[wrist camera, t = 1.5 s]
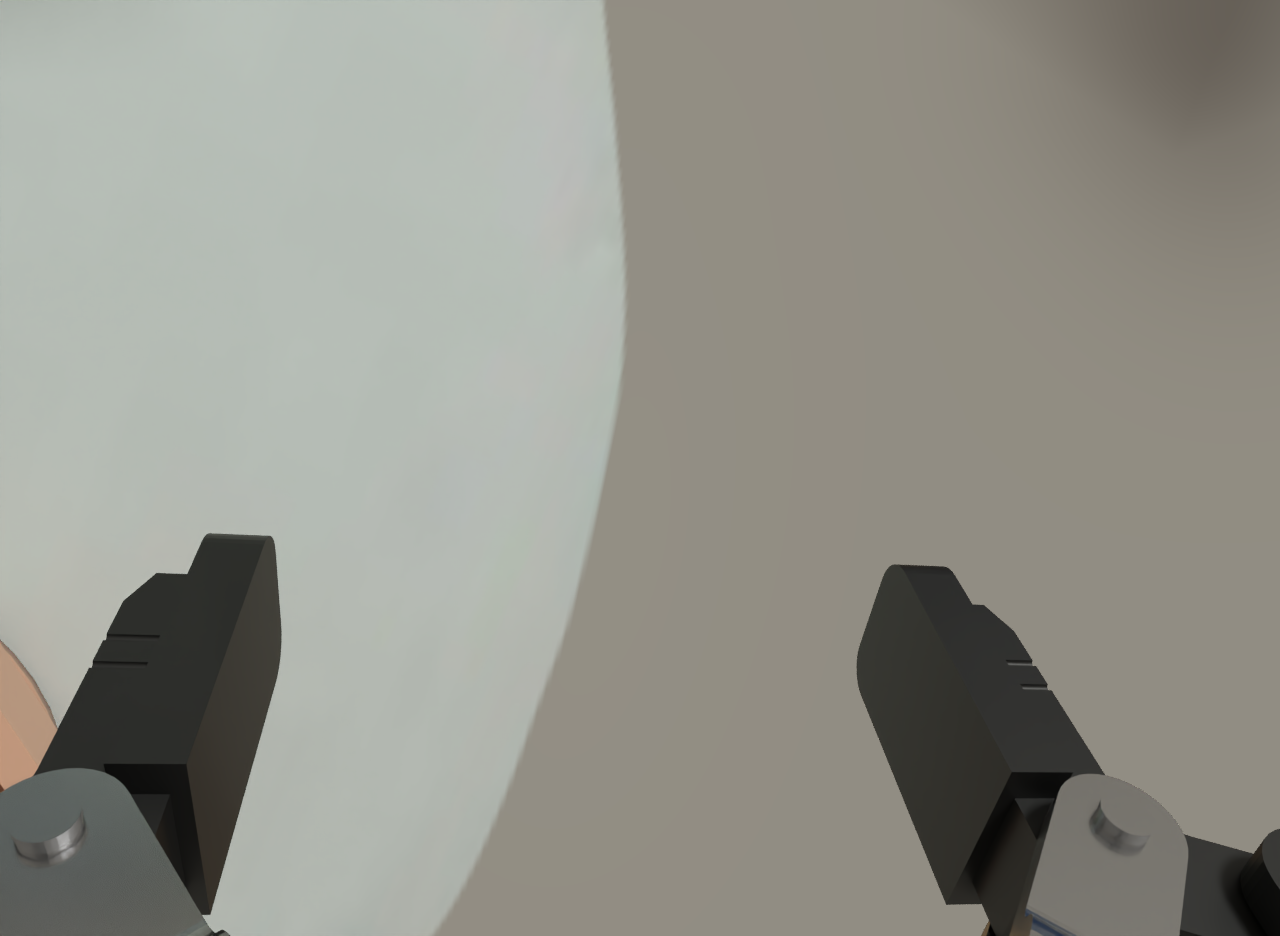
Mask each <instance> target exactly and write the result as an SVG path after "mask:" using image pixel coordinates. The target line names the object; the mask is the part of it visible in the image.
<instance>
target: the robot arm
mask: <svg viewBox="0 0 1280 936" xmlns="http://www.w3.org/2000/svg"><path fill="white" fill-rule="evenodd" d="M280 655H281V618H280V604H279V591H278V578H277V565H276V552H275V544H274V540H273V538H272V537H271V536H259V535H235V534H212V533H209V534H207V535H206V536H205V537H204V538H203V540H202V542H201V545H200V547H199V549H198V551H197V554H196V556H195V558H194V560H193V563H192V565H191V567H190V569H189V572H188V574H166V573H156V574H155V575H154V576H153V577H152V578H150V579H149V580H148V581H147V582H146V583H144V584H143V585H142V586H141V587H140V588H138V589H137V590H136V591H135V592H134V593H132V594H131V595H130V596H129V597H128V598H126V599H125V600H124V601H123V603H122V605H121V607H120V609H119V611H118V613H117V615H116V616H115V618H114V620H113V622H112V624H111V626H110V628H109V630H108V632H107V638H106V640H103V642H102V644H101V646H100V648H99V650H98V652H97V654H96V656H95V657H94V659H93V666H92V668H89V669H88V671H87V673H86V675H85V677H84V679H83V681H82V683H81V685H80V687H79V689H78V691H77V693H76V695H75V696H74V698H73V700H72V702H71V704H70V706H69V708H68V710H67V712H66V714H65V716H64V718H63V720H62V722H61V724H60V726H59V728H58V730H57V732H56V734H55V736H54V737H53V739H52V741H51V743H50V745H49V747H48V749H47V751H46V753H45V755H44V757H43V759H42V761H41V763H40V765H39V767H38V769H37V770H36V772H35V774H34V775H33V776H32V777H30V778H27V779H24V780H22V781H20V782H18V783H16V784H14V785H12V786H10V787H9V788H7V789H6V790H4V791H2V792H1V793H0V936H230V935H229V934H228V933H227V932H226V931H224V930H220V931H219V932H217V933H214V932H213V931H212V930H211V928H210V927H209V926H208V924H207V923H206V921H205V919H204V918H203V916H202V915H210V914H211V910H212V907H213V903H214V900H215V896H216V892H217V889H218V885H219V882H220V878H221V875H222V871H223V868H224V864H225V861H226V857H227V853H228V850H229V846H230V843H231V839H232V836H233V832H234V829H235V825H236V822H237V818H238V814H239V811H240V807H241V804H242V800H243V797H244V793H245V790H246V786H247V783H248V779H249V775H250V772H251V768H252V765H253V761H254V758H255V754H256V751H257V747H258V744H259V740H260V736H261V733H262V729H263V726H264V722H265V719H266V715H267V712H268V708H269V705H270V701H271V697H272V694H273V690H274V687H275V683H276V679H277V675H278V670H279V663H280ZM857 680H858V686H859V690H860V693H861V696H862V699H863V701H864V703H865V705H866V708H867V711H868V713H869V716H870V718H871V721H872V723H873V726H874V728H875V731H876V733H877V735H878V738H879V740H880V743H881V745H882V748H883V750H884V753H885V755H886V757H887V760H888V763H889V765H890V767H891V770H892V772H893V775H894V777H895V780H896V782H897V785H898V787H899V790H900V792H901V794H902V797H903V799H904V802H905V804H906V807H907V809H908V811H909V814H910V817H911V819H912V821H913V824H914V826H915V829H916V831H917V833H918V836H919V839H920V841H921V843H922V846H923V848H924V851H925V853H926V856H927V858H928V861H929V863H930V866H931V868H932V871H933V873H934V876H935V878H936V880H937V883H938V885H939V888H940V890H941V893H942V895H943V898H944V900H945V902H946V905H948V904H949V905H950V904H982V905H983V907H984V910H985V912H986V915H987V917H988V919H989V922H988V923H987V925H986V927H985V929H984V931H983V933H982V935H981V936H1280V829H1277V830H1275V831H1273V832H1271V833H1269V834H1268V836H1267V837H1266V838H1265V839H1264V840H1263V842H1262V843H1261V844H1260V846H1259V847H1258V848H1257V850H1256V851H1255V853H1254V854H1252V853H1248V852H1245V851H1241V850H1238V849H1234V848H1230V847H1227V846H1223V845H1220V844H1216V843H1212V842H1209V841H1205V840H1201V839H1198V838H1194V837H1191V836H1188V835H1185V834H1183V832H1182V830H1181V828H1180V826H1179V825H1178V823H1177V822H1176V820H1175V819H1174V818H1173V817H1172V815H1171V814H1170V813H1169V812H1168V811H1167V810H1166V809H1165V808H1164V807H1163V806H1162V805H1161V804H1160V803H1159V802H1157V801H1156V800H1155V799H1154V798H1152V797H1151V796H1150V795H1148V794H1147V793H1145V792H1144V791H1142V790H1141V789H1139V788H1137V787H1135V786H1133V785H1131V784H1129V783H1127V782H1125V781H1122V780H1120V779H1117V778H1113V777H1110V776H1106V775H1105V774H1104V773H1103V771H1102V769H1101V768H1100V766H1099V765H1098V763H1097V762H1096V760H1095V759H1094V757H1093V755H1092V754H1091V752H1090V750H1089V749H1088V747H1087V746H1086V744H1085V743H1084V741H1083V739H1082V738H1081V736H1080V735H1079V733H1078V732H1077V730H1076V728H1075V727H1074V725H1073V724H1072V722H1071V721H1070V719H1069V717H1068V716H1067V714H1066V713H1065V711H1064V710H1063V708H1062V706H1061V705H1060V703H1059V702H1058V700H1057V698H1056V697H1055V695H1054V694H1053V692H1052V691H1051V690H1050V691H1049V690H1048V689H1047V683H1046V681H1045V680H1044V678H1043V676H1042V675H1041V673H1040V672H1039V670H1038V669H1037V667H1036V666H1032V659H1031V658H1030V656H1029V654H1028V653H1027V651H1026V649H1025V648H1024V646H1023V645H1022V643H1021V642H1020V640H1019V638H1018V637H1017V635H1016V634H1015V632H1014V631H1013V630H1012V629H1011V628H1010V627H1009V626H1007V625H1006V624H1005V623H1004V622H1003V621H1001V620H1000V619H999V618H998V617H997V616H996V615H995V614H993V613H992V612H991V611H990V610H989V609H988V608H987V607H985V606H984V605H972V603H971V601H970V600H969V598H968V596H967V595H966V593H965V591H964V590H963V588H962V587H961V585H960V583H959V581H958V580H957V578H956V576H955V575H954V574H953V572H952V571H951V570H950V569H949V568H947V567H939V566H917V565H891V566H890V567H889V568H888V569H887V570H886V572H885V574H884V576H883V579H882V582H881V584H880V587H879V590H878V593H877V596H876V599H875V602H874V605H873V608H872V611H871V614H870V617H869V620H868V623H867V626H866V629H865V632H864V634H863V637H862V641H861V643H860V647H859V651H858V656H857Z"/></svg>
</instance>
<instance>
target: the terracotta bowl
mask: <svg viewBox="0 0 1280 936" xmlns="http://www.w3.org/2000/svg"><path fill="white" fill-rule="evenodd" d="M57 730H58V728H57V725H56V723H55V720H54V717H53V714H52V712H51V709H50V707H49V705H48V703H47V702H46V700H45V698H44V696H43V694H42V693H41V691H40V689H39V687H38V685H37V684H36V682H35V680H34V679H33V677H32V676H31V675H30V674H29V672H28V671H27V670H26V668H25V667H24V666H23V664H22V663H21V662H20V661H19V659H18V658H17V657H16V655H15V654H14V653H13V652H12V651H11V650H10V649H9V648H8V647H7V646H6V645H5V644H4V643H3V642H2V641H1V640H0V793H1V792H2V791H4V790H6V789H7V788H9V787H10V786H12V785H14V784H16V783H18V782H20V781H22V780H24V779H27V778H30V777H32V776H33V775H34V774H35V772H36V770H37V769H38V767H39V765H40V763H41V761H42V759H43V757H44V755H45V753H46V751H47V749H48V747H49V745H50V743H51V741H52V739H53V737H54V736H55V734H56V732H57Z"/></svg>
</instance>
